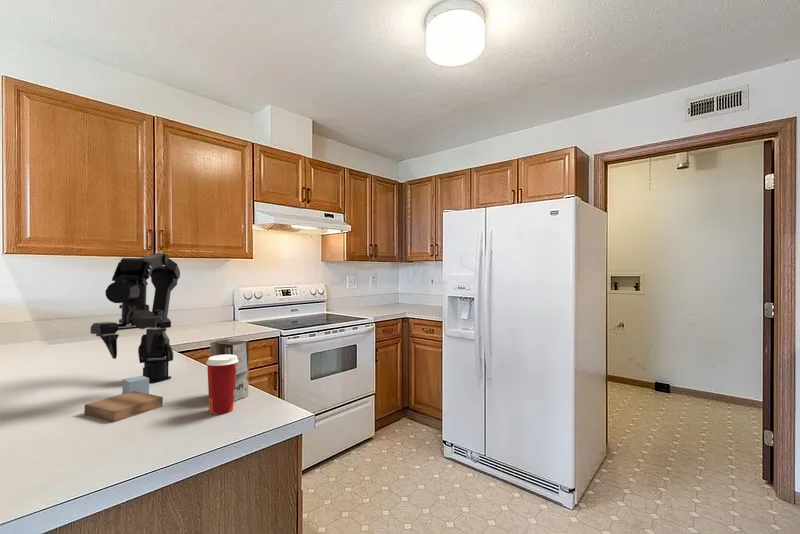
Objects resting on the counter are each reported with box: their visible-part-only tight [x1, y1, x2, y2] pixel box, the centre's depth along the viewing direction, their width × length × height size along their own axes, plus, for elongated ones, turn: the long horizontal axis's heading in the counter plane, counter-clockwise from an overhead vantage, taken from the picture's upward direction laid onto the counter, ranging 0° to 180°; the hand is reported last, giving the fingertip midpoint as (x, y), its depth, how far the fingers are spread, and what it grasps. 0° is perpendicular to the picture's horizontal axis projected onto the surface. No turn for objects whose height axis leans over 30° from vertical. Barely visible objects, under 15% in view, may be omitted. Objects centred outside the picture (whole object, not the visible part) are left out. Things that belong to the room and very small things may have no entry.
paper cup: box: [205, 354, 238, 416], centre depth 99 cm, size 8×8×14 cm
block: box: [121, 375, 150, 394], centre depth 110 cm, size 5×5×5 cm
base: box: [83, 391, 164, 423], centre depth 99 cm, size 12×12×2 cm
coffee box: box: [209, 339, 250, 402], centre depth 110 cm, size 9×6×16 cm
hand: (132, 355), depth 109 cm, fingers open, 9 cm apart
